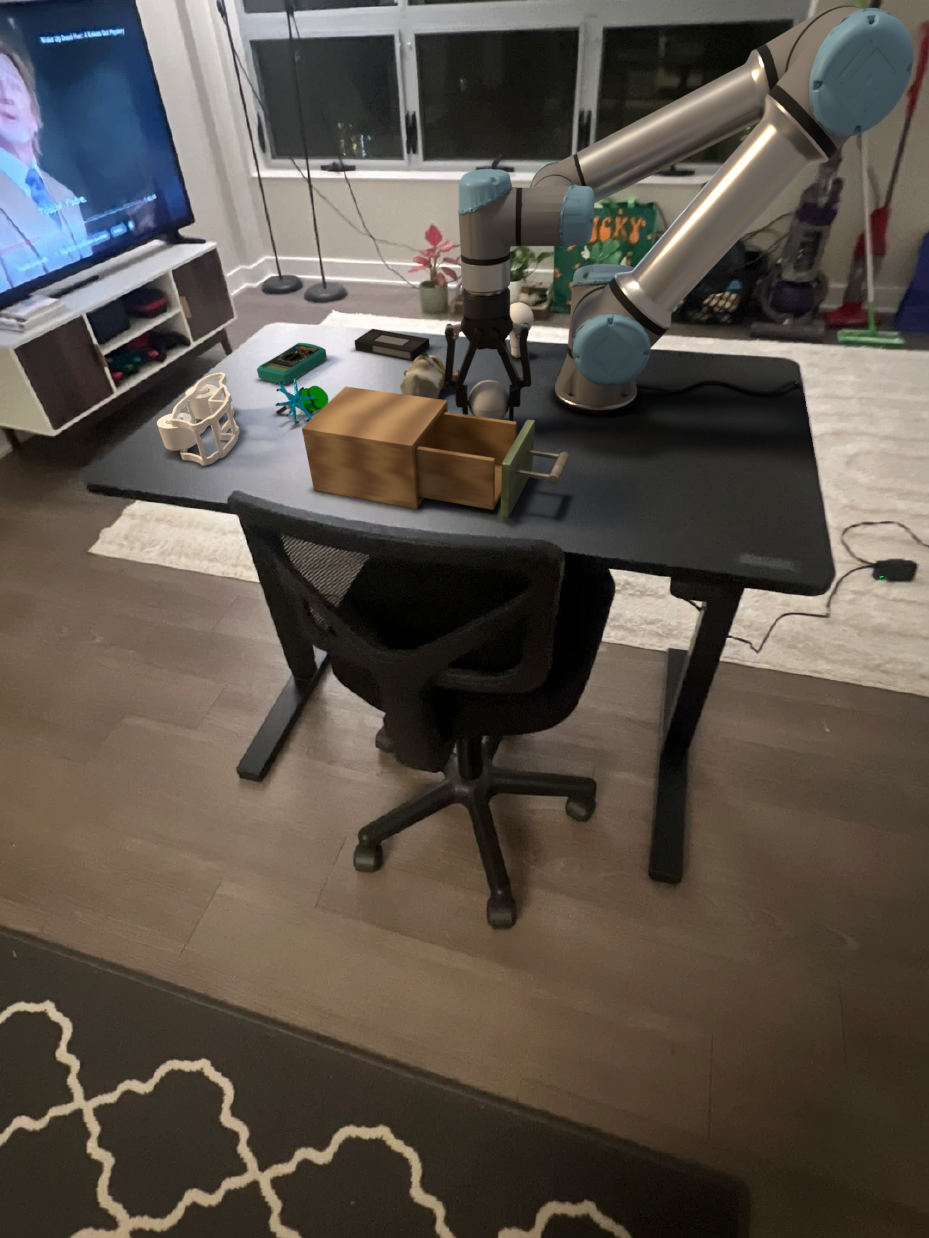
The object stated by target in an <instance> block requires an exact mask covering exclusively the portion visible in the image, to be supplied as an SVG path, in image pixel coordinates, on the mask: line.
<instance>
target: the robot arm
mask: <svg viewBox="0 0 929 1238" xmlns="http://www.w3.org/2000/svg"><path fill="white" fill-rule="evenodd" d="M913 66H914V45H913V40H912V37H911V34H910V31H909V30H908V29H907V27H906V25H905V24H904V23H903V22H902V21H901V20H900V19H898V18H897V17H895V16H894V15H892V14H891V13H890V11H886V10H884V9H883V8H882V9H881V8H877V7H867V8H861V7H860V6H855V5H847V4H842V5H835V6H832V7H829V8H826V9H824V10H821V11H819V12H817V13H815V14H813V15H812V16H810V17H808V18H807V19H805V20H804V21H803V20H802V21H801V22H800V23H799V24H797V25H794V26H793V27H791V28H790V29H788V30H787V31H785V32H783V33H782V34H780V35H778V36H777V37H774V38H773V39H771V40H770V41H768V42H766V43H765V44H763V45H761V46H759V47H756V48H755V49H753V50H751V52H750V54H749V56H748V58H747V60H746V61H745V63H744V64H742V65H741V66H739V67H737V68H735V69H733V70H731V71H729V72H727V73H725V74H723V75H721V76H719V77H718V78H715V79H714V80H712V81H710V82H708V83H706V84H705V85H702V86H700V87H699V88H697V89H695V90H693V91H691V92H689V93H688V94H685V95H683V96H682V97H679V98H678V99H676V100H674V101H672V102H670V103H668V104H666V105H664V106H663V107H661V108H659V109H657V110H655V111H652V112H651V113H650V114H647V115H646V116H644V117H641V118H640V119H638V120H636V121H634V122H632V123H631V124H628V125H627V126H624V127H623V128H621V129H619V130H617V131H615V132H614V133H612V134H609V135H608V136H606V137H604V138H602V139H600V140H598V141H596V142H595V143H592V144H590V145H589V146H587V147H584V148H583V149H581V150H579V151H577V152H576V153H575V154H572V155H570V156H567V157H565V158H564V159H562V160H560V161H549V162H547V163H545V164H543V165H542V166H541V167H540V168H538V170H537V171H536V172H535V174H534V175H533V176H532V179H531V182H530V185H529V187H518V186H513V183H512V180H511V175H510V173H509V172H508V171H506V170H503V169H493V168H484V169H477V170H476V169H474V170H472V171H471V170H470V171H468V172H466V173H464V174H463V175H462V176H461V178H460V179H459V181H458V211H457V213H458V227H459V230H458V231H459V247H460V277H461V287H462V288H463V290H462V292H461V297H462V299H461V300H462V319H461V321H460V323H457V324H452V323H447V324H446V325H445V329H444V336H445V340H446V343H447V345H446V354H445V355H446V356H445V366H444V368H445V379H444V386H445V387H446V388H447V389H448V388H451V389H453V390H454V394H455V395H454V396H455V406H456V408H461V409H462V414H465V415H469V406H468V400H469V394H468V385H467V384H465V382H466V379H467V376H468V373H469V370H470V368H471V365H472V362H473V359H474V357H475V355H476V352H477V351H481V350H482V351H483V350H485V349H487V350H496V351H497V353H498V356H500V359H501V362H502V364H503V367H504V369H505V371H506V374H507V376H508V379H509V381H510V383H511V384H509V388H508V389H509V390H508V391H509V392H508V394H509V409H508V421H514V422H515V408H520V406H521V398H522V397H521V392H522V389H523V388H530V387H531V386H532V371H531V364H530V355H529V347H528V337H529V335H530V334H529V333H530V330H529V324H528V323H523V324H517V323H513V321H512V319H511V316H510V305H511V289H510V285H511V247H564V248H569V247H572V246H574V247H575V246H584V245H588V243H589V242H590V241H591V239H592V237H593V231H594V230H593V229H594V221H595V219H594V218H595V204H596V203H598V202H600V201H602V200H605V199H607V198H609V197H611V196H612V195H615V194H617V193H619V192H621V191H623V190H625V189H627V188H629V187H631V186H633V185H636V184H637V183H639V182H641V181H643V180H645V179H648V178H649V177H651V176H653V175H655V174H658V173H660V172H661V171H663V170H665V169H668V168H670V167H672V166H674V165H675V164H678V163H680V162H682V161H684V160H686V159H689V158H690V157H692V156H694V155H696V154H698V153H700V152H702V151H704V150H707V149H709V148H710V147H712V146H715V145H716V144H719V143H721V142H722V141H725V140H727V139H728V138H731V137H733V136H735V135H737V134H738V133H740V132H743V131H745V130H747V129H749V128H751V127H754V128H753V129H751V131H750V133H748V134H747V136H746V137H745V138H744V140H743V141H742V142H741V143H740V144H739V145H738V146H737V147H736V148H735V150H734V151H733V152H732V153H731V154H730V156H729V157H727V159H726V160H725V161H724V163H723V164H722V165H721V166H720V168H719V169H718V170H717V171H716V172H715V173H714V174H713V176H712V177H711V178H710V179H709V180H708V182H706V183H705V185H704V186H703V187H702V188H701V190H700V191H699V192H698V193H697V194H696V196H695V197H694V198H693V199H692V200H691V201H690V202H689V204H688V205H687V206H686V207H685V208H684V210H683V211H682V212H681V213H680V214H679V215H678V216H677V218H675V220H674V221H673V222H672V223H671V224H670V226H669V227H668V228H667V230H666V231H665V232H664V233H663V234H662V235H661V236H660V238H659V239H658V240H657V241H656V242H655V243H654V245H652V247H651V248H650V250H649V251H648V252H647V253H646V254H645V255H644V257H643V258H642V259H640V261H639V262H638V263H637V265H636V266H635V267H634V266H630V265H625V264H615V263H613V264H611V263H602V264H601V263H600V264H589V265H584V266H581V267H579V268H576V270H575V271H574V273H573V278H572V283H571V286H570V288H571V298H570V299H571V300H570V314H569V324H568V325H569V327H568V339H567V351H566V352H567V353H566V357H565V359H564V361H563V364H562V367H561V368H560V370H559V372H558V374H557V379H556V381H555V384H554V394H553V395H554V400H555V401H556V402H557V404H559V406H561V407H563V408H564V409H566V410H568V411H571V412H574V413H578V414H582V415H588V416H589V415H590V416H607V415H608V416H609V415H614V414H618V413H622V412H625V411H627V410H629V409H631V407H632V406H634V405H635V403H636V400H637V394H638V389H642V390H650V391H657V392H662V393H669V394H670V393H671V394H672V393H679V392H683V391H687V390H688V389H692V388H693V387H694V388H695V387H696V386H699V385H702V384H703V385H704V384H718V385H723V386H727V387H731V388H733V389H737V390H739V391H742V392H745V393H750V394H753V395H760V396H770V395H774V394H777V393H779V392H781V391H783V390H784V389H786V388H788V387H790V386H795V387H796V388H799V389H801V388H803V385H802V384H801V382H799V383H797V384H795V383H796V382H797V381H798V380H796V379H791V380H787V381H786V382H784V383H783V384H781V385H779V386H777V387H775V388H772V389H766V391H765V389H756V388H751V387H747V386H745V385H741V384H739V383H736V382H732V381H730V380H726V379H721V378H702V379H698V380H694V381H691V382H689V383H687V384H685V385H681V386H678V387H664V386H661V385H654V384H646V383H637V382H636V378H637V377H638V376H639V375H640V374H641V373H643V371H644V370H645V368H646V366H647V364H648V362H649V359H650V357H651V352H652V347H654V345H656V343H657V342H658V341H659V340H660V339H662V337H663V336H664V335H665V333H667V332H668V331H669V329H670V328H671V327H672V313H673V311H674V310H675V309H676V307H678V306H679V304H680V303H681V302H682V301H683V300H684V299H685V298H686V297H687V296H688V295H689V294H690V292H691V291H692V290H694V288H695V287H696V286H697V285H698V284H699V283H700V282H701V281H702V280H703V279H704V277H706V276H707V274H708V273H709V272H710V271H711V270H712V269H713V268H714V267H715V266H716V265H717V264H718V263H719V262H720V260H721V259H722V258H723V257H724V256H725V255H726V254H727V253H728V252H729V251H730V249H731V248H733V246H735V244H736V243H738V241H739V240H740V239H741V238H742V237H743V236H744V234H746V232H747V231H748V230H749V229H750V228H751V227H753V225H754V224H755V223H756V222H757V220H758V219H759V218H760V217H761V216H762V215H763V214H765V212H766V211H767V210H768V209H769V208H770V207H771V206H772V204H773V203H774V202H775V201H776V200H777V199H778V198H779V197H780V196H781V195H782V193H784V191H785V190H786V189H788V187H789V186H790V185H791V184H792V183H793V182H794V181H795V180H796V179H797V178H798V177H799V175H801V173H802V172H803V171H804V170H805V169H806V168H807V167H808V166H811V165H816V164H822V163H827V162H828V161H829V160H831V158H832V157H833V156H834V155H835V154H836V153H837V152H838V151H839V150H840V149H841V147H842V146H843V145H844V144H845V143H846V142H847V141H849V139H850V138H851V137H854V136H858V135H860V134H864V133H865V132H867V131H869V130H871V129H873V128H875V127H876V126H878V125H879V124H880V123H881V122H882V121H883V120H885V119H886V118H887V117H888V116H889V115H890V114H891V112H892V111H893V110H894V109H895V108H896V106H897V105H898V104H899V102H900V101H901V99H902V97H903V95H904V94H905V92H906V89H907V87H908V85H909V82H910V79H911V77H912V76H911V75H912V69H913ZM511 331H513V332H514V333H515V337H516V338H517V339H519V348H520V363H521V364H520V365H521V371H522V376H521V377H520V374H519V372H518V370H517V367H516V365H515V362H514V360H513V357H512V354H511V352H510V350H509V349H508V344H507V341H506V340H507V338H508V337H509V334H510V333H511ZM460 333H462V334H463V336H464V337H465V338H466V339H467V341H468V342H469V344H468V346H467V349H466V352H465V355H464V357H463V361H462V363H461V365H460V367H459V374H458V377H457V379H456V378H453V377H452V376H453V371H454V364H455V355H456V354H455V353H456V341H457V340H458V339H459V337H460ZM792 384H793V385H792ZM781 389H782V390H781Z"/></svg>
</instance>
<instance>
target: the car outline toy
mask: <svg viewBox="0 0 929 1238" xmlns="http://www.w3.org/2000/svg"><path fill="white" fill-rule="evenodd" d="M215 381H218V385H219V387H217V385H214V384H210V383H213V382H215ZM227 382H228V380H227V376H226V373H225V372H215V373H211V374H208V375H206V376H204V377H202V378H201V379H200V380H198V381H197V382H196V383H195V384H194V386H192V387H189V388H188V389H187V390H186V391H185V396H184V397H182V398H181V399H180V400H179V401H178V402H177V404H176V405H174V407H173V409H172V411H171V413H168V414H166V415H163V416H161V417H160V418H159V419H157V421H156V425H157V428H158V431H159V433H160V437H161V440H162V442H163V446H164V448H166V449H167V450H169V451H180V452H179V453H180V457H181V459H182V461H191V462H194V463H198V464H200V465H201V466H204V467H205V466H209V465H212V464H215V462H216V461H218V460H219V459H223V458H225V457H226V456H227V455H228V454H229V452H230V451H231V450H232V449H233V448H234V446H235V445H236V444H237V441H238V440H239V436H240V435H241V430H240V427H239V426H238V425H237V422H236V419H235V418H234V415H235V413H236V412H235V409H234V406H233V404H232V402H233V399H232V394H231V393H230V392H229V390H228V387H227ZM221 397H222V398H223V399H221ZM185 407H186V409H187V412H181V411H183V409H184V408H185ZM225 414H226V416H227V420H226V422H225V423H224V424H223V425H222V426H221V424H220V422H219V421H220V419H222V417H224V415H225ZM197 420H201V421H199V422H198V423H197ZM209 426H210V427H211V428H210V429H211V431H212V434H213V438H214V443H215V446H216V449H217V451H214V452H213V453H212V454H210V455H209V456H207V454H206V450H205V447H204V444H203V441H202V438H201V434H203V433H204V432H205V431H206V430H207V428H208V427H209ZM229 430H230V431H231V433H227V432H228V431H229ZM221 441H227V443H226V444H225V445H224V446H223V445H222V442H221ZM196 444H197V448H198V451H199V454H195V453H193V452H192V453H191V452H188V450H189V449H190V448H192V447H194V446H195V445H196Z"/></svg>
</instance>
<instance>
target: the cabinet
mask: <svg viewBox="0 0 929 1238" xmlns="http://www.w3.org/2000/svg"><path fill="white" fill-rule="evenodd" d="M448 404H449V403H448V400H446V399H440V398H437V399H433V398H426V397H418V396H411V395H404V394H402V393H398V392H397V393H396V392H389V391H380V390H375V389H368V388H367V389H366V388H360V387H354V386H353V387H352V386H347V385H346V386H344V387H343V388H342V389H341V390H340V391H339V392H338V393H337V394H336V395H335V396H334V397H333V398H332V399H331V400H329V401H328V404H327V405H326V406H325V407H324V408H322V409H319V410H318V412H317V413H316V414H315V415H314V416H313V417H311V418H312V419H311V420H310V421H307V423H306V424H304V426H303V427H301V433H302V436H303V440H304V447H305V452H306V456H307V457H306V458H307V463H308V467H309V471H310V476H311V477H310V478H311V483H312V487H313V488H312V489H313V491H317V492H322V493H328V494H333V495H339V496H345V497H350V498H356V499H361V500H366V501H372V502H377V503H383V504H388V505H394V506H400V507H404V508H410V509H415V510H417V509H418V508H419V506H420V505H421V504H422V502H423V501H424V499H425V498H424V497H419V496H418V487H417V474H416V461H415V449H414V448H415V447H416V446H417V445H418V443H419V442H420V441H421V439H422V438H423V437H424V436H425V434H426V433H427V432H428V430H429V429H430V428H431V426H432V425H433V424H434V423H435V421H436V420H437V419H438V417H439V416H440V415H441V414H442V412H443V411H444V412H449V406H448Z"/></svg>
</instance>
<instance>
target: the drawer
mask: <svg viewBox="0 0 929 1238" xmlns="http://www.w3.org/2000/svg"><path fill="white" fill-rule="evenodd" d="M535 426H536V421H535V420H534V419H526V421H525V422H524V425H523V426H522V428H521V430H520V431H519V433H518V432H517V431H518V422H517V421H515V420H514V421H509V420H508V419H507V420H506V419H501V420H500V419H493V418H486V417H479V416H473V415H472V414H471V415H470V414H468V415H465V414H463V413H457V412H450V411H448V412H444V411H443V412H442V414H441V415H440V416H439V417H438V419H437V420H436V421H435V423H434V424H433V425H432V426H431V428H430V429H429V430H428V432H427V433H426V434H425V436H424V437H423V438H422V439H421V441H420V442H419V443H418V445H417V446H416V447H415V448H414V449H415V461H416V474H417V487H418V496H419V497H424V499H430V500H436V501H441V502H449V503H452V504H458V505H459V504H460V505H464V506H470V507H475V508H481V509H485V510H486V509H487V510H494V509H495V507H496V506H497V504H498V502H499V500H500V517H502V518H509V517H510V516H511V514H512V512H513V509H514V507H515V505H516V503H517V502H518V500H519V498H520V496H521V494H522V492H523V491H524V488H525V486H526V484H527V483H528V480H529V479H530V478H532V479H540V480H546V481H548V482H549V483H550V484H551V485H556V484H558V483H559V481H560V478H561V476H562V474H563V472H564V470H565V468H566V466H567V463H568V461H569V459H570V455H569V453H568V452H567V451H562V452H560V453H555V452H554V453H553V452H546V451H541V450H534V449H535V448H534V445H535ZM517 434H518V435H517ZM534 457H539V458H547V459H553V460H556V461H555V463H554V465H553V467H552V468H551V469H552V470H551V471H550V473H549V474H548V473H542V472H536V471H533V466H534Z"/></svg>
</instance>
